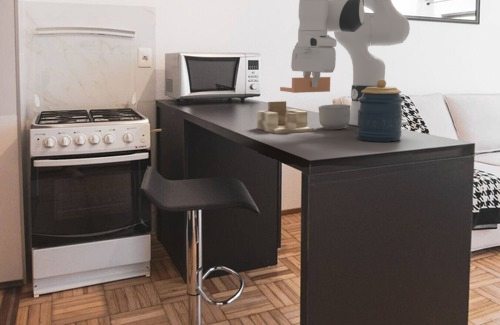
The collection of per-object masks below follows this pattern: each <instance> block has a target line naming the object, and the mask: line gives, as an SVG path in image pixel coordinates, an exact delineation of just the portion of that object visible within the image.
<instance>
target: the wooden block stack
mask: <svg viewBox="0 0 500 325" xmlns="http://www.w3.org/2000/svg"><path fill="white" fill-rule="evenodd" d="M256 129H259V130H260V131H261V130H262V131H265V132H269V133H273V134H292V133H293V134H294V133H306V132H307V133H308V132H310V133H311V132H314V128H313V127H309V126H308V111H305V110H300V109H296V108H295V109H294V108H293V109H287V101H286V100H282V101H267V110H257V111H256Z"/></svg>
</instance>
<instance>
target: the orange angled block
mask: <svg viewBox="0 0 500 325" xmlns="http://www.w3.org/2000/svg"><path fill="white" fill-rule="evenodd" d="M312 78H313V76H310V77H304V76H302V77H291V87H286V86H280V87H279V88H280V89H279V91H280V92H285V93H286V92H287V93H293V94H296V93H297V94H299V93H301V94H302V93H326V92H331V77H330V76H320V78H319V80H318V86H317V87H311V86H310V81H312Z"/></svg>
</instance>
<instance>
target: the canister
mask: <svg viewBox="0 0 500 325" xmlns="http://www.w3.org/2000/svg"><path fill="white" fill-rule="evenodd" d="M361 92H362V93H363V95H362V97H360V98H359V99H358V100H359V102H360V106H359V109H358V126H357V125H356V127H357V128H356V138H357V139H358V140H362V141H366V142H375V143H376V142H377V143H391V141H393V142H398V141H400V140H401V136H402V125H401V124H402V120H403V112H404V111H403V110H402V103H403V102H404V99H403V98H402V97H401V96H400V94H401V93H402V91H401V90H400V89H398V88H397V87H396V86H387V82H386V80H383V79H380V80H378V82H377V87H366V88H365V89H364V90H362V91H361Z"/></svg>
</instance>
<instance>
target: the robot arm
mask: <svg viewBox="0 0 500 325" xmlns="http://www.w3.org/2000/svg"><path fill="white" fill-rule="evenodd" d="M298 2H299V3H298V19H299V20H298V21H299V27H298V30H297V42H296V44H295V45H294V47H293V49H292V55H291V64H290V67H291V71H292V72H302V75H303V76H302V77H313V78H312V81H310V86H311V87H317V86H318V80H319V78H320V77H321V73H334V71H335V68H336V59H337V58H336V57H337V54H336V52H337V51H336V49H335V48H336V47H337V42H338V43H339V45H341V46H342V47H343V48H344V49H345V50H346V52H347V53H348V55H349V57H350V59H351V63H352V85H351V91H350V97H351V104H350V106H351V107H350V121H349V124H348V125H350V126H356V127H357V126H358V109H359V106H360V102H359V100H358V99H359V98H360V97H362V95H363V93H362V92H361V91H362V90H364V89H365V88H366V87H377V82H378V80H380V79H383V80H385V79H386V78H385V77H386V64H385V62H384V60H383V59H382V58H380V57H379V56H377V55H375V54H372V53H371V52H369V50H368V48H369V47H372V46H373V47H375V46H376V47H378V46H381V47H383V46H395V45H399V44H400V45H401V44H403V43H404V42H405V41H406V40H407V38H408V37H409V35H410V23H409V22H410V21H409V20H408V18H407V17H406V16H405V15H404V14H403V13H401V12H400V11H399V10H397V9H396V7H395V5H394V4H393V1H392V0H298ZM364 8H367V9H369V10H371V11H372V13H365V9H364ZM328 32H333V33H334V37H332V36H330V34H328ZM385 81H386V80H385ZM403 125H404V126H405V125H409V121H408V120H404V119H402V124H401V126H403Z"/></svg>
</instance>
